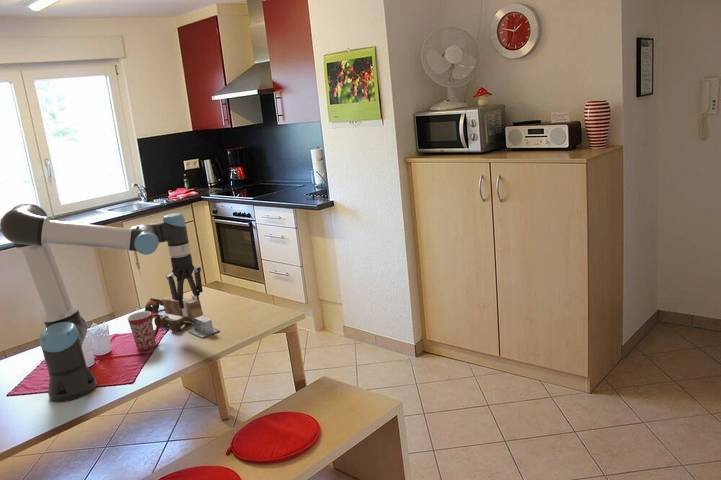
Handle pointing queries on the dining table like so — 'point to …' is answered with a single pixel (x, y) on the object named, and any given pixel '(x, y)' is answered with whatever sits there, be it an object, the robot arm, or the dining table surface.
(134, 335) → the mug
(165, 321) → the kendama
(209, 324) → the fulcrum
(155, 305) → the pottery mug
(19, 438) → the dining table surface
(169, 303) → the walnut bar
